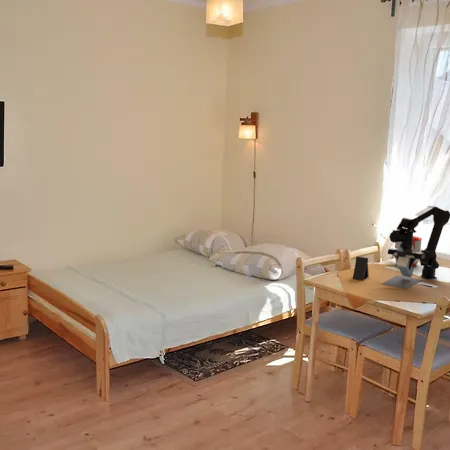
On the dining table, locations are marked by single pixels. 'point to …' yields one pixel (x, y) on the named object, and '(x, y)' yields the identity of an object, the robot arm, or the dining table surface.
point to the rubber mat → (401, 282)
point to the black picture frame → (361, 269)
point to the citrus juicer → (415, 247)
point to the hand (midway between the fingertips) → (404, 268)
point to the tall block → (404, 267)
